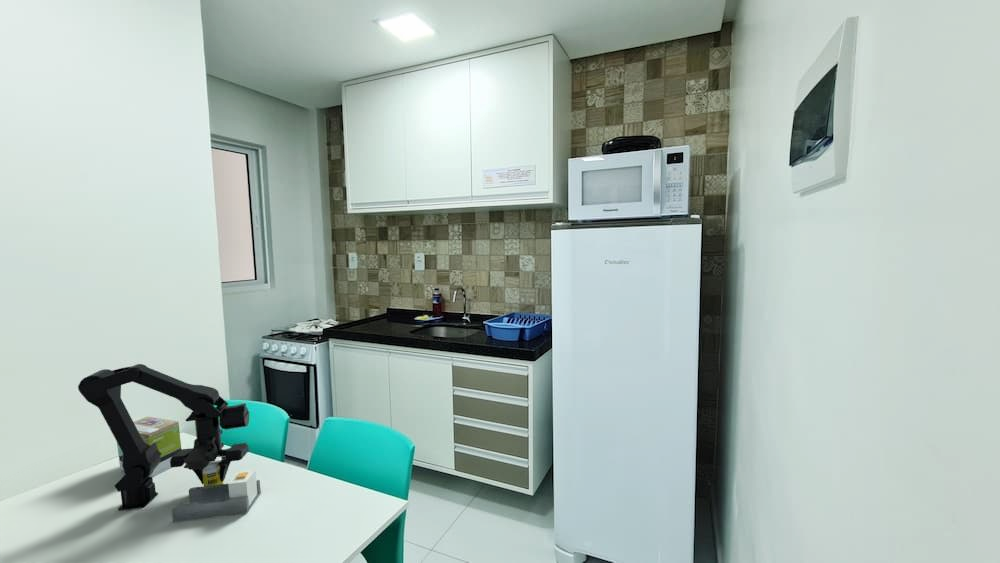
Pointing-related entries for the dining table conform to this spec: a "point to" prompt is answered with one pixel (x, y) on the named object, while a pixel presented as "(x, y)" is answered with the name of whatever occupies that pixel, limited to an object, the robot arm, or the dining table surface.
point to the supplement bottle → (212, 474)
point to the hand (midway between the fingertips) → (213, 481)
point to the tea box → (158, 440)
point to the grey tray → (212, 503)
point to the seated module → (243, 485)
